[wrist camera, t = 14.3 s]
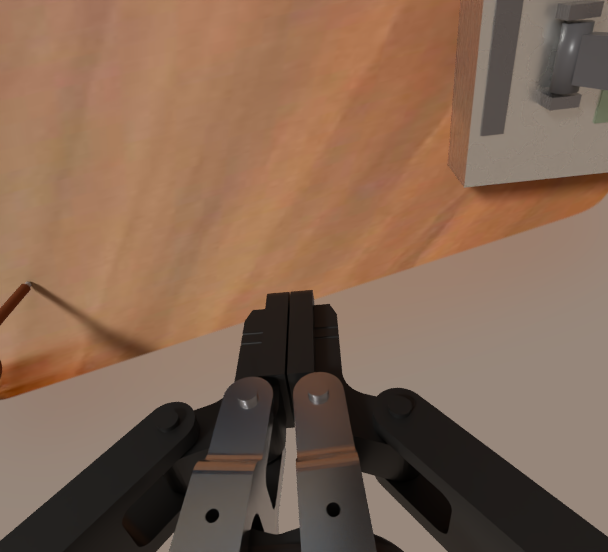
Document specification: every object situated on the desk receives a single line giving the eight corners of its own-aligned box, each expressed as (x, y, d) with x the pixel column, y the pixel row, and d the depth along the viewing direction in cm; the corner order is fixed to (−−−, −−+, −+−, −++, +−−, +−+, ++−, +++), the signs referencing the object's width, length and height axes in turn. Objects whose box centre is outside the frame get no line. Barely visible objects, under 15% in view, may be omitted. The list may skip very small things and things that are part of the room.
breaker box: (468, -97, 35) (505, -111, 29) (649, -123, 34) (731, -144, 28) (447, 164, 48) (470, 196, 41) (579, 150, 47) (624, 180, 40)
